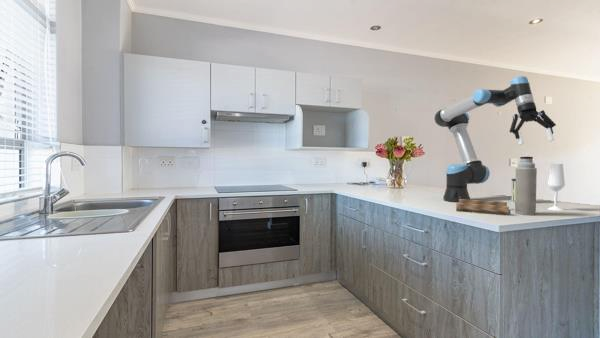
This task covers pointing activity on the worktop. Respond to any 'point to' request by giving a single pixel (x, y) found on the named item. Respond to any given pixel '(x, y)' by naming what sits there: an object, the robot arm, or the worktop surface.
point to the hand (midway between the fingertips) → (536, 142)
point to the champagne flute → (556, 182)
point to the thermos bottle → (525, 187)
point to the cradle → (482, 207)
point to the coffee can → (513, 189)
